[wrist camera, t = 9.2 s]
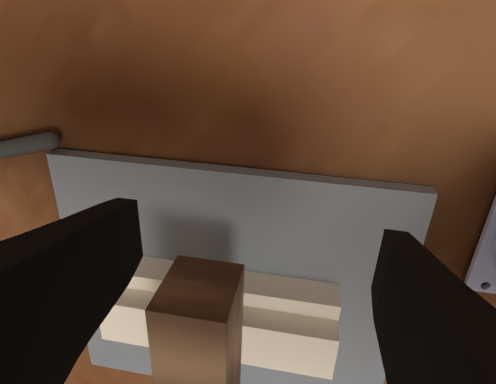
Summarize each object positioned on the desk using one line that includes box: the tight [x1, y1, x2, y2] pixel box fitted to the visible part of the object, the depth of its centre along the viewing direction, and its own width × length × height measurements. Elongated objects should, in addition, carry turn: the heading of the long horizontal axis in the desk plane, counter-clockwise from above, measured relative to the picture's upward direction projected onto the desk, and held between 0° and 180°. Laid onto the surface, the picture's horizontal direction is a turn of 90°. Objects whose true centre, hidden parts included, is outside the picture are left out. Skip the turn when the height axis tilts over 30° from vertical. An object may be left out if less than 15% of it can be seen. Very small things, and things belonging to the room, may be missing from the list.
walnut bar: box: [145, 255, 245, 384], centre depth 20 cm, size 12×4×4 cm, turn 178°
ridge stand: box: [46, 149, 438, 384], centre depth 23 cm, size 22×18×4 cm
